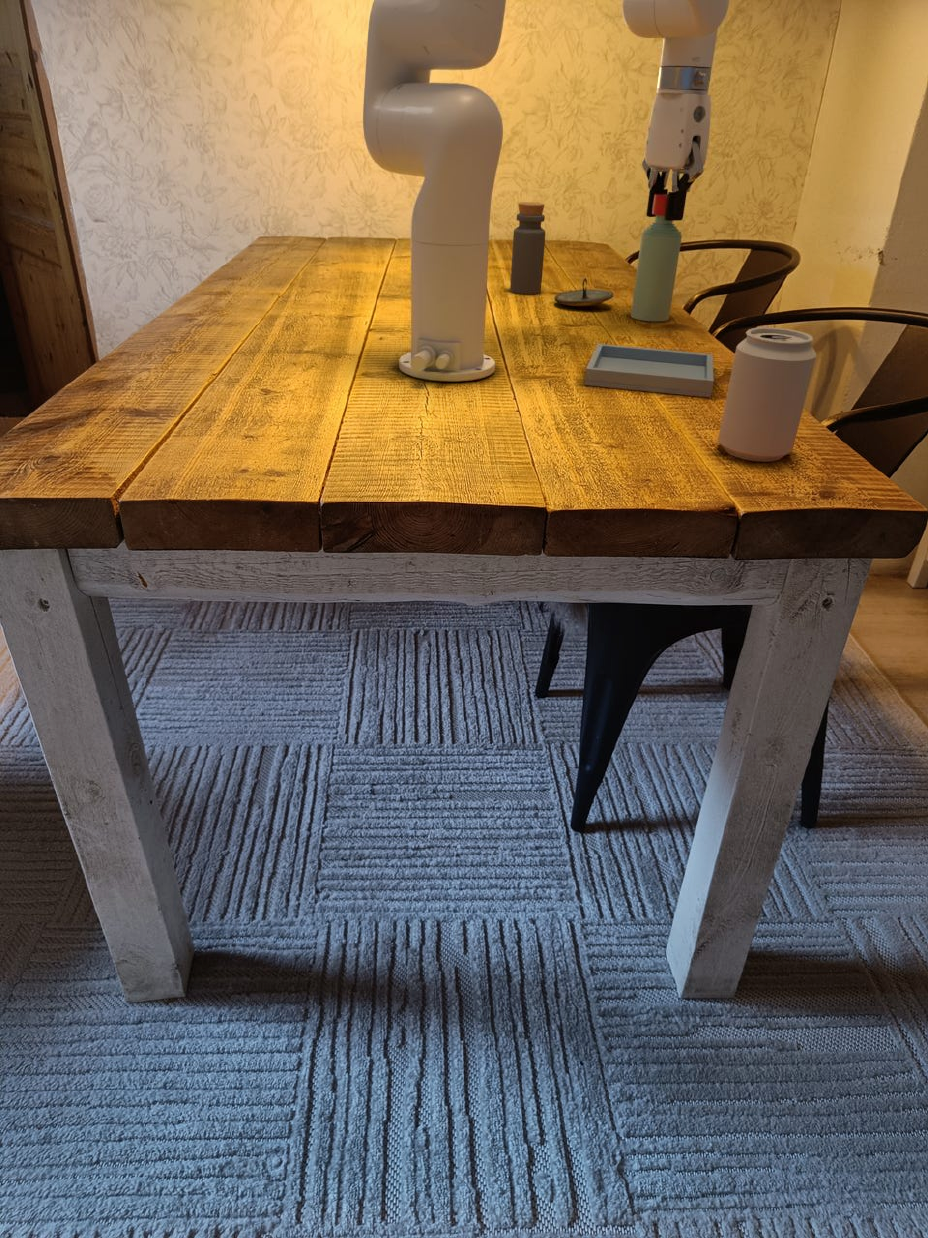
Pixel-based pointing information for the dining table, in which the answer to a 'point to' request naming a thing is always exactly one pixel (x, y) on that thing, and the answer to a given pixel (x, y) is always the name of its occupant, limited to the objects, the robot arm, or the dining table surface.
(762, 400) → the can
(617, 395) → the dining table surface
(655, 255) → the water bottle
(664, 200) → the cap
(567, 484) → the dining table surface
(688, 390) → the tray
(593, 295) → the lid
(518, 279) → the bottle
